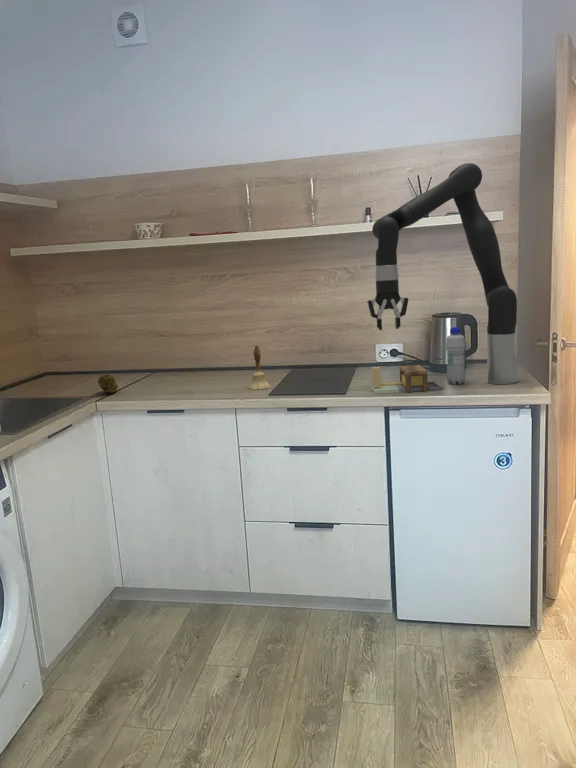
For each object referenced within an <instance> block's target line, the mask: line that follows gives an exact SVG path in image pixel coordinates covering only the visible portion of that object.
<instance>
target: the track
mask: <svg viewBox="0 0 576 768" xmlns="http://www.w3.org/2000/svg"><path fill="white" fill-rule="evenodd" d="M371 390H372V391H373V392H374V394H375V395H380V394H381V393H382V394H392V393H394V392H396V393H407V392H406V387H405V386H404V385H392V386H381V388H374V387H373V385H371ZM421 391H422V392H423V385H422V386H411V392H421Z"/></svg>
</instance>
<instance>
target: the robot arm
mask: <svg viewBox="0 0 576 768" xmlns="http://www.w3.org/2000/svg"><path fill="white" fill-rule="evenodd" d="M482 180H483V173H482V170H481V168H480V166H478V165H477V164H475V163H470V162H467V163H463V164H461V165H459V166H457V167H456V168H454V169H453V170H452V171H451V172H450V173H449V175H448V177H447V178H446V179H444V180H443V181H441V182H440V183H439V184H437V185H436V186H434V187H432V188H430V189H428V190H426V191H425V192H423V193H421V194H419V195H417V196H415V197H414V198H412V199H411V200H408V201H407V202H406V203H404V204H402V205H401V206H399V208H397V209H395V210H393V211H392V212H390V213H387V214H385V215H384V216H382V217H380V218H378V219H377V220H376V221H375V222H374V224H373V225H372V228H371V229H372V234H373V236H374V237H375V238H376V239H378V241H377V242H378V243H377V249H376V250H375V291H376V292H375V297H374V299H368V300H367V301H366V302H367V306H368V310H369V313H370V317H371V318H373V319H376V328H377V329H378V331H382V330H383V324H382V323H383V322H382V321H383V320H382V316H383V313H384V310H388V309H389V310H392V311H393V313H394V315H395V317H394V319H395V321H394V323H395V325H394V326H395V329H396V330H398V329H399V328H401V318H402V317H403V316H406V313H407V309H408V304H409V298H408V297H401V295H400V290H399V288H400V287H399V268H398V255H397V252H398V251H397V249H398V243H399V235H400V233H399V232H400V231H401V230H403V229H404V228H407V227H410V226H412V225H414V224H416V223H417V222H418V221H420V220H422V219H423V218H425V217H426V216H427V215H429V214H431V213H432V212H434V211H435V210H437V209H438V208H439V207H441V206H443V205H444V204H445V203H447V202H450V200H452V199H453V201H454V203H455V206H456V207H457V211H458V214H459V216H460V220H461V224H462V227H463V231H464V234H465V237H466V241H467V244H468V247H469V251H470V253H471V255H472V258H473V261H474V263H475V266H476V267H477V270H478V272H479V275H480V278H481V281H482V286H483V292H484V296H485V297H484V298H485V302H486V306H487V308H488V310H487V311H488V312H487V313H488V315H487V317H488V318H487V319H488V320H487V326H486V329H487V330H486V331H487V332H486V333H487V336H486V341H487V342H486V345H487V348H486V352H487V353H486V355H487V358H486V359H487V361H486V362H487V364H486V365H487V366H486V367H487V369H486V370H487V371H486V372H487V373H486V374H487V376H486V377H487V381H486V382H487V383H488V384H491V385H511V384H515V382H516V383H518V355H517V354H516V329H517V328H516V327H517V321H518V317H517V315H518V297H517V294H516V292H515V291H514V290H513V289H512V288H511V287H510V286H509V284H508V282H507V278H506V277H505V274H504V271H503V266H502V258H501V251H500V250H501V249H500V245H499V240H498V238H497V234H496V231H495V228H494V226H493V224H492V222H491V220H490V219H489V218H488V216H487V215H486V213H485V212H484V210H483V209H482V208H481V206H480V202H479V201H478V198H477V193H476V189H477V188H479V186H480V185H481V183H482ZM375 303H376V304H377V305H378V309H377V313H376V312H375V309H374V306H375ZM399 303H401V309H400V310H399V308H398V304H399Z"/></svg>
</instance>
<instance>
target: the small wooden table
mask: <svg viewBox="0 0 576 768" xmlns="http://www.w3.org/2000/svg"><path fill="white" fill-rule="evenodd" d="M402 374H406V392H405V393H406V394H411V393H412V391H411V375H414V374H422V379H423V391H422V392H423V393H425V392H426V393H427V391H428V382H429V381H428V379H429V378H428V370H427V369H426V368H425V367H423V366H422V365H420V364H414V365H413V364H412V365H400V366H399V382H402ZM428 392H429V391H428Z"/></svg>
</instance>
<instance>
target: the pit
mask: <svg viewBox="0 0 576 768" xmlns="http://www.w3.org/2000/svg"><path fill="white" fill-rule="evenodd" d="M443 389H444V387H443V386H442V385H440V384H439V383H437V381H428V392H434V391H443Z"/></svg>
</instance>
